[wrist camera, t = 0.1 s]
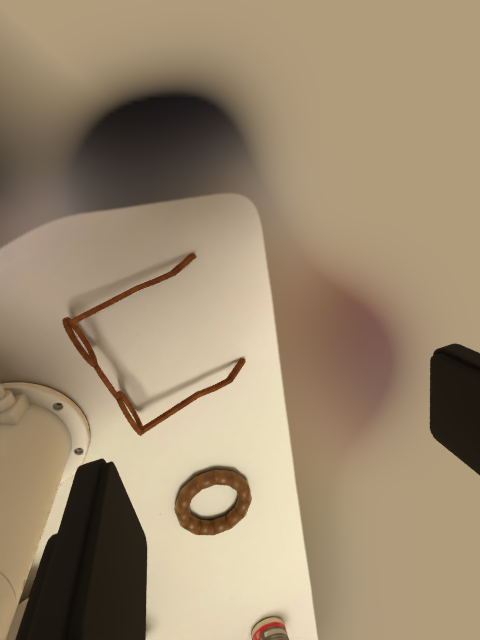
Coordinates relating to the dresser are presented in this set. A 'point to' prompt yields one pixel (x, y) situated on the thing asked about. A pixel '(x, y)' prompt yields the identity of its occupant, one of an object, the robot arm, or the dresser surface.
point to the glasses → (93, 362)
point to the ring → (204, 482)
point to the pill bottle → (270, 630)
